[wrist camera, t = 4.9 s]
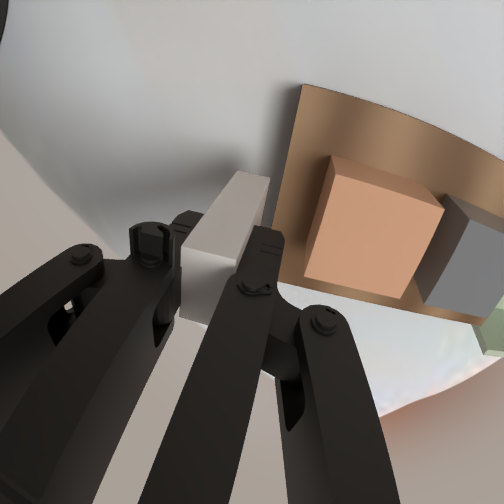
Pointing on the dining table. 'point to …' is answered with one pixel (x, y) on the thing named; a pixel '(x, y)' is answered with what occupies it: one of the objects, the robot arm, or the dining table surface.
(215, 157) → the dining table surface
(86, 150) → the dining table surface
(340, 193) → the peach square block
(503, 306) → the tray
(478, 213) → the grey square block
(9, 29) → the dining table surface
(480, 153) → the walnut board
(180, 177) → the dining table surface
